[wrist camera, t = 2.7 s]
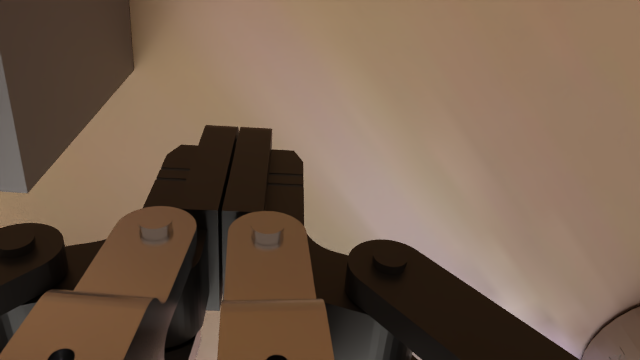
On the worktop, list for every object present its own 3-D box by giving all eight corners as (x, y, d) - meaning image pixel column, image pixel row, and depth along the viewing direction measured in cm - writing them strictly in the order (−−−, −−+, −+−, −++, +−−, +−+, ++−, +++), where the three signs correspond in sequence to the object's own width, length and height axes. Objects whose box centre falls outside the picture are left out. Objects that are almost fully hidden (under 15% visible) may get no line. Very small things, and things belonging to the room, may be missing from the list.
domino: (124, -58, 21) (-11, -2, 12) (134, 70, 23) (27, 193, 14) (81, -62, 21) (-86, -9, 12) (95, 66, 23) (-35, 188, 14)
